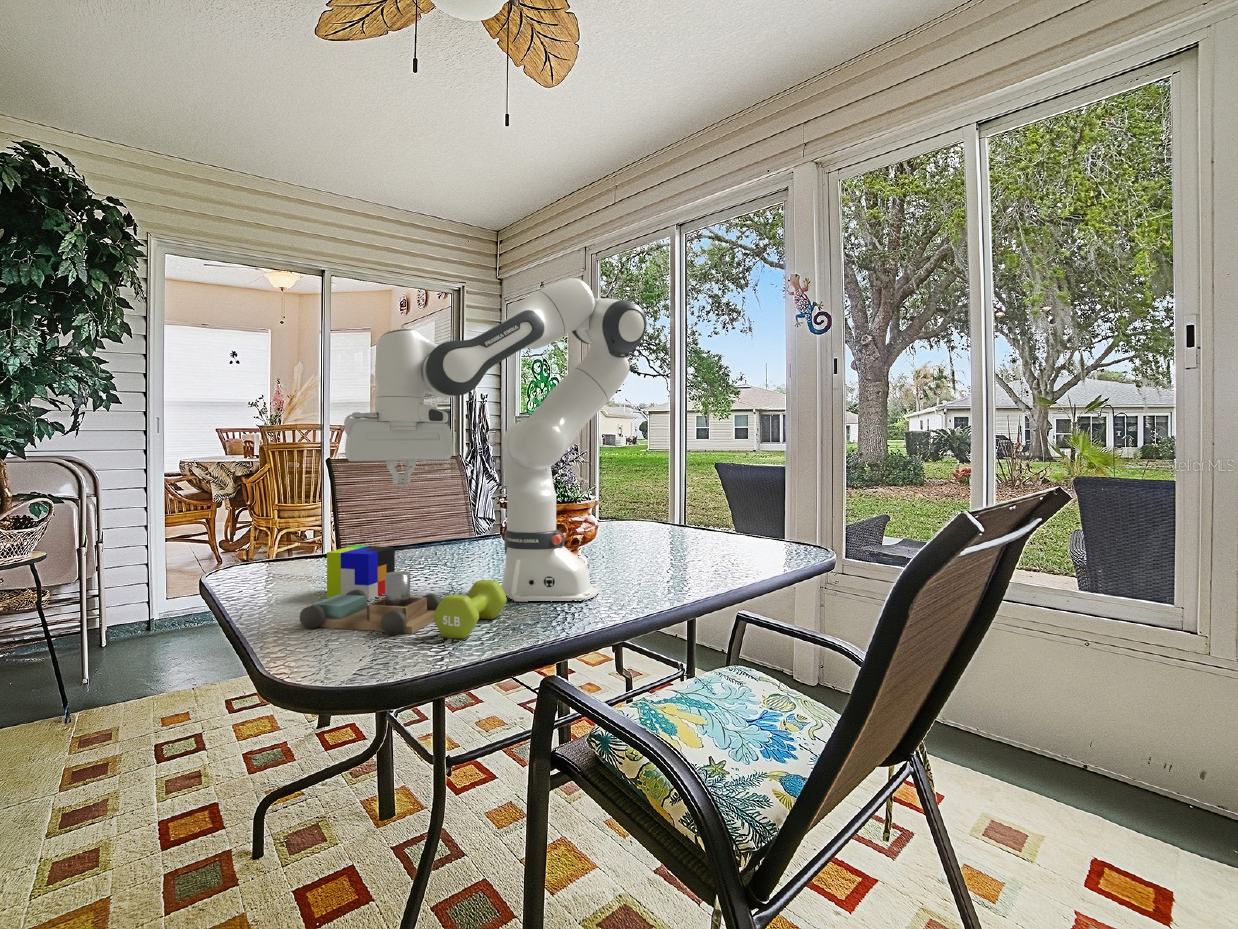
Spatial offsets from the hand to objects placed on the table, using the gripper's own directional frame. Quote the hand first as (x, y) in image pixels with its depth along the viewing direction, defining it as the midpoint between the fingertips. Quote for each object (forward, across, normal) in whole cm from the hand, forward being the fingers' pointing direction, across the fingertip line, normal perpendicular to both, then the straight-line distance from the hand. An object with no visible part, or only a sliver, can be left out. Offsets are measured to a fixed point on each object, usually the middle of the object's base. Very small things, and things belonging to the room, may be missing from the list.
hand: (401, 483), depth 122 cm
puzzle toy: (+26, -2, +21) cm, 33 cm away
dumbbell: (+26, +6, -17) cm, 32 cm away
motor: (+24, -3, -6) cm, 25 cm away
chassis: (+25, -7, -3) cm, 26 cm away
